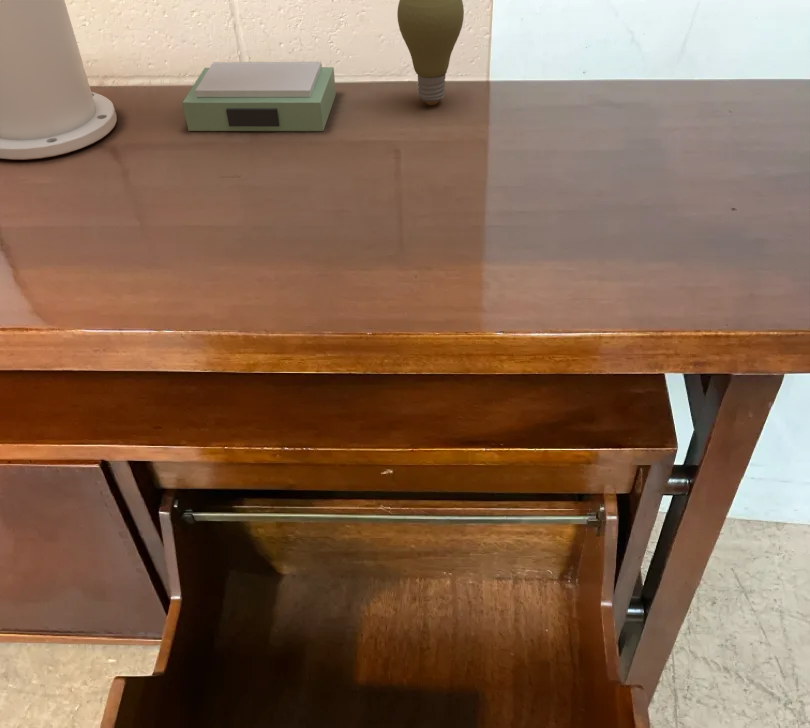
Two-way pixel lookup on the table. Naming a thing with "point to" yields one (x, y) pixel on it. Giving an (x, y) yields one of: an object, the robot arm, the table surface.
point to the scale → (261, 97)
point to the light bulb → (430, 41)
